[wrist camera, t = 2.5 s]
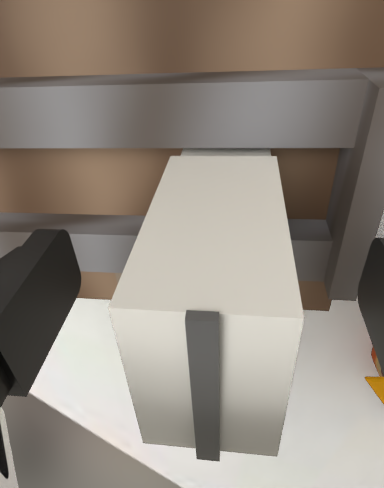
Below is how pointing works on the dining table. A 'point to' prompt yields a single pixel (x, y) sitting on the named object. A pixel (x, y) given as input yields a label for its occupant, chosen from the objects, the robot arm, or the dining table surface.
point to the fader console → (192, 121)
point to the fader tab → (211, 306)
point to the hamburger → (377, 379)
